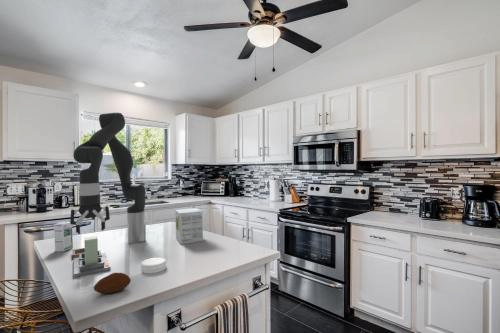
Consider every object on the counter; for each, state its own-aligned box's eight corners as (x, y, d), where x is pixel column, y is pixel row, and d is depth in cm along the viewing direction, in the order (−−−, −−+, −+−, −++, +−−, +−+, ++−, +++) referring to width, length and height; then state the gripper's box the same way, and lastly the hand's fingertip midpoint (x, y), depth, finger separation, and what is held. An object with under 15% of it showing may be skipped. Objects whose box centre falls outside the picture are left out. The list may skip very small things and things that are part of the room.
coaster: (160, 263, 121) (160, 255, 121) (170, 269, 114) (169, 261, 114) (137, 269, 115) (137, 260, 115) (146, 276, 107) (146, 267, 107)
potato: (93, 292, 94) (92, 274, 94) (129, 284, 100) (128, 266, 100) (94, 299, 88) (94, 280, 88) (132, 290, 95) (131, 272, 95)
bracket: (93, 250, 141) (93, 246, 141) (94, 255, 133) (94, 251, 133) (72, 253, 136) (72, 249, 136) (72, 259, 128) (72, 255, 128)
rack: (105, 255, 132) (105, 248, 132) (110, 270, 113) (110, 262, 113) (73, 261, 125) (73, 254, 125) (73, 277, 106) (73, 269, 106)
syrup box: (63, 251, 140) (63, 223, 140) (54, 251, 141) (53, 223, 141) (73, 248, 145) (72, 221, 145) (63, 247, 147) (63, 221, 146)
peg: (97, 263, 117) (96, 236, 117) (98, 266, 114) (97, 238, 113) (85, 265, 115) (84, 237, 115) (85, 269, 111) (84, 240, 111)
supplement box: (175, 239, 160) (174, 209, 160) (197, 235, 166) (196, 207, 166) (180, 244, 148) (179, 213, 148) (203, 241, 154) (202, 210, 154)
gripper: (107, 191, 121) (108, 227, 121) (69, 194, 113) (70, 232, 113) (109, 193, 115) (110, 231, 115) (69, 196, 107) (70, 236, 107)
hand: (90, 231), depth 114 cm, fingers open, 8 cm apart
